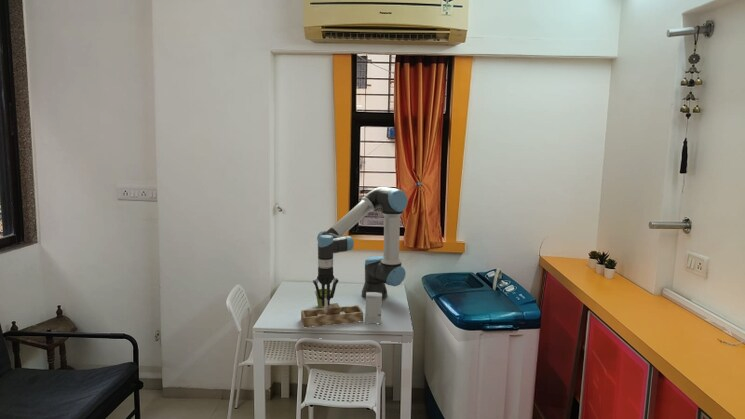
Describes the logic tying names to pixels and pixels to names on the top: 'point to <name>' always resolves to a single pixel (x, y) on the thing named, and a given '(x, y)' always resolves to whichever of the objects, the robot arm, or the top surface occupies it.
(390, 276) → the robot arm
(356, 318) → the wooden cubby shelf
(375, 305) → the skincare box
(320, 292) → the plant pot
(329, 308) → the walnut block
